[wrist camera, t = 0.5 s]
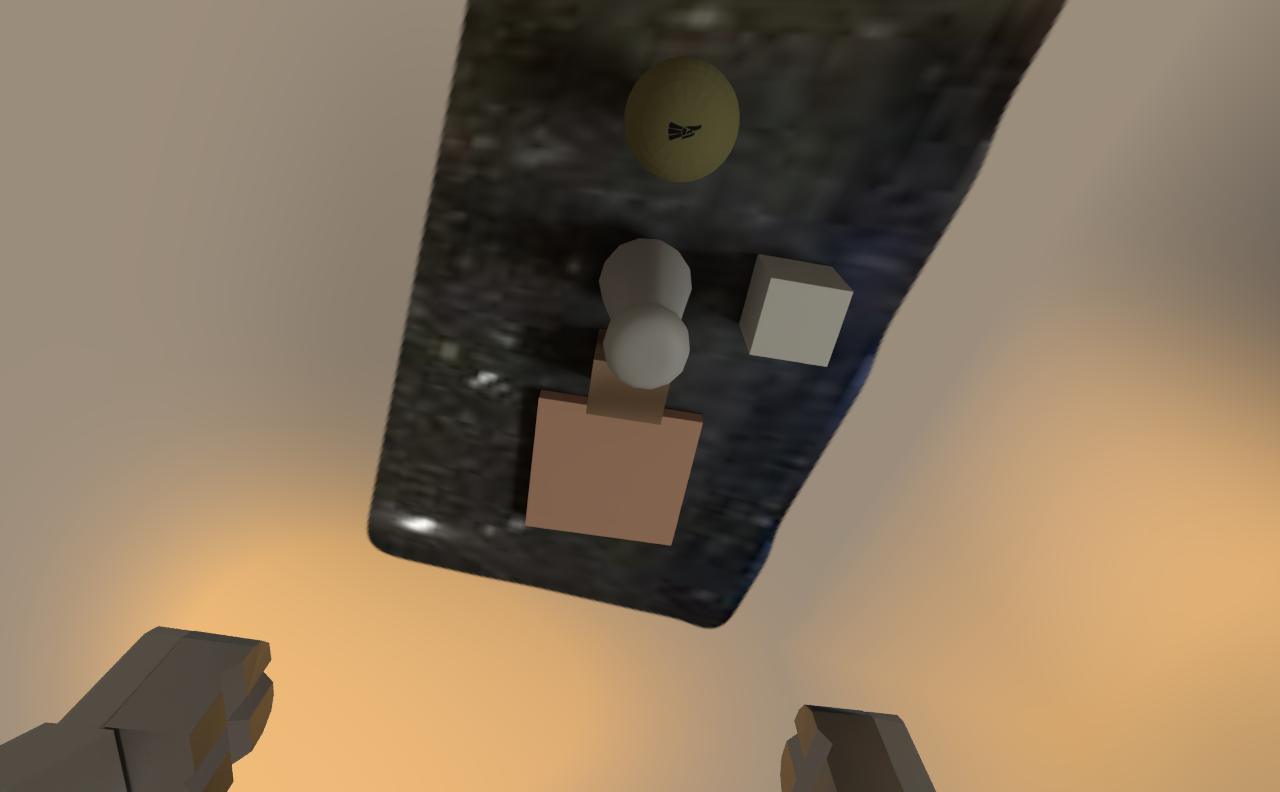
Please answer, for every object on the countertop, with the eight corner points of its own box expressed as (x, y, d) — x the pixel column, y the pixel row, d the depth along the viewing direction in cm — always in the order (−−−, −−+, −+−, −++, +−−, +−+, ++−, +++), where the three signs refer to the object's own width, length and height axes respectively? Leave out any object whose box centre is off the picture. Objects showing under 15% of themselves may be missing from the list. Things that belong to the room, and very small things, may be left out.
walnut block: (599, 328, 43) (593, 359, 39) (669, 339, 44) (672, 371, 39) (591, 378, 45) (585, 413, 41) (659, 388, 46) (660, 424, 41)
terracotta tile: (541, 389, 46) (538, 397, 45) (701, 414, 47) (702, 422, 46) (527, 515, 51) (525, 525, 50) (670, 535, 52) (671, 545, 51)
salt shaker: (586, 286, 42) (564, 374, 31) (629, 212, 39) (623, 277, 28) (660, 328, 43) (665, 427, 32) (706, 258, 41) (730, 338, 30)
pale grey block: (757, 253, 41) (771, 277, 36) (831, 266, 41) (853, 291, 37) (739, 323, 43) (749, 354, 39) (808, 335, 44) (826, 366, 39)
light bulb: (654, 176, 38) (657, 213, 30) (610, 87, 36) (599, 99, 27) (738, 131, 37) (766, 156, 28) (698, 35, 35) (716, 30, 26)
